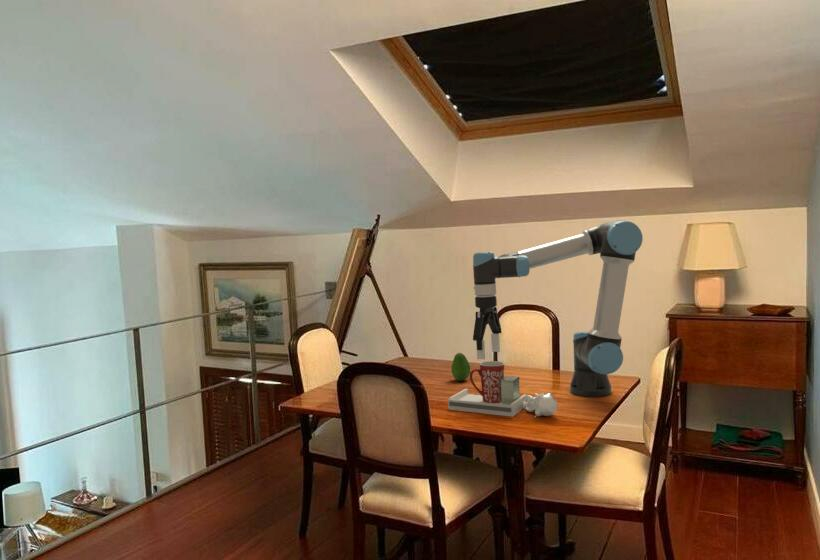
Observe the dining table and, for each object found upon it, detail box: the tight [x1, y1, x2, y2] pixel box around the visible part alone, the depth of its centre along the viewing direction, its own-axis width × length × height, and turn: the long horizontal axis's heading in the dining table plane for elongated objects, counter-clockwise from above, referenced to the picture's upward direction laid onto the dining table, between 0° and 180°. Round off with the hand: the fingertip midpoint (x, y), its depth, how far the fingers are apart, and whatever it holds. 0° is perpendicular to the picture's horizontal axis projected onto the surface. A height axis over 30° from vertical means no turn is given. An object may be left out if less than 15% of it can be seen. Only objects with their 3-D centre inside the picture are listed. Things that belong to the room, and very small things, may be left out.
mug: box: [469, 360, 506, 403], centre depth 219 cm, size 13×9×14 cm
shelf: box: [447, 388, 528, 418], centre depth 218 cm, size 24×15×4 cm, turn 60°
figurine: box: [522, 391, 558, 418], centre depth 208 cm, size 11×7×15 cm
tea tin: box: [501, 375, 521, 405], centre depth 214 cm, size 5×6×9 cm
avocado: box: [451, 352, 471, 382], centre depth 260 cm, size 8×8×12 cm
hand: (488, 355), depth 219 cm, fingers open, 13 cm apart
